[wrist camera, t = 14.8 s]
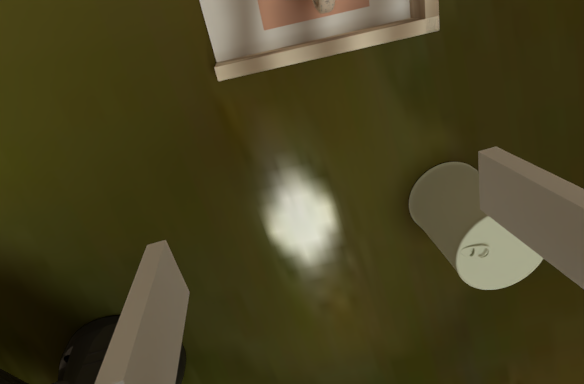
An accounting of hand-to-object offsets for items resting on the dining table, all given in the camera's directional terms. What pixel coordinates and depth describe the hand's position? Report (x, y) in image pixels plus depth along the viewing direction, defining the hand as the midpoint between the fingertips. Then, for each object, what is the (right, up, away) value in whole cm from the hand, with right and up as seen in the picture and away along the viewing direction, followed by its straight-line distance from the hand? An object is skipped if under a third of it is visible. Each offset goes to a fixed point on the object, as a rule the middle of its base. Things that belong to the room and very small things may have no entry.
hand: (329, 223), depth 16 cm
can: (+17, +1, +31) cm, 35 cm away
